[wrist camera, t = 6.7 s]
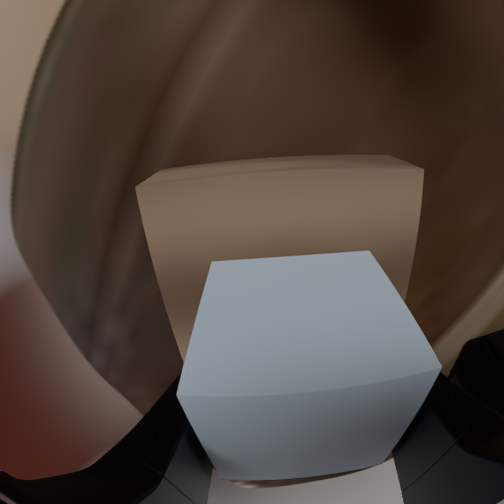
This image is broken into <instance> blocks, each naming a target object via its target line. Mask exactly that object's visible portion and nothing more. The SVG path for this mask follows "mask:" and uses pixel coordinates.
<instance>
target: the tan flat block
mask: <svg viewBox="0 0 504 504" xmlns="http://www.w3.org/2000/svg"><path fill="white" fill-rule="evenodd" d="M423 178H424V169H422V168H419V167H417V166H415V165H412V164H410V163H408V162H405V161H403V160H400V159H398V158H395V157H393V156H390V155H314V156H290V157H273V158H259V159H246V160H235V161H225V162H216V163H207V164H199V165H191V166H183V167H176V168H169V169H163V170H160V171H159V172H157V173H156V174H154V175H153V176H151V177H150V178H148V179H147V180H145V181H144V182H142V183H141V184H139V185H138V186H136V187H135V188H136V193H137V198H138V203H139V208H140V212H141V217H142V221H143V226H144V230H145V234H146V238H147V242H148V246H149V250H150V254H151V258H152V262H153V266H154V269H155V273H156V277H157V280H158V284H159V287H160V291H161V294H162V298H163V301H164V304H165V307H166V311H167V314H168V317H169V320H170V323H171V326H172V329H173V332H174V335H175V338H176V341H177V344H178V347H179V350H180V353H181V356H182V359H183V361H184V362H185V358H186V354H187V350H188V346H189V342H190V339H191V335H192V331H193V327H194V323H195V320H196V316H197V312H198V309H199V305H200V301H201V298H202V294H203V291H204V287H205V283H206V280H207V276H208V273H209V269H210V266H211V263H212V261H228V260H242V259H257V258H272V257H286V256H300V255H314V254H328V253H342V252H355V251H370V252H371V254H372V255H373V256H374V258H375V259H376V261H377V262H378V264H379V265H380V267H381V268H382V269H383V271H384V272H385V274H386V275H387V277H388V278H389V280H390V281H391V283H392V284H393V286H394V287H395V289H396V290H397V292H398V294H399V295H400V297H401V298H402V300H403V301H404V302H405V298H406V293H407V289H408V284H409V280H410V275H411V270H412V264H413V259H414V253H415V247H416V241H417V234H418V227H419V220H420V211H421V202H422V191H423Z"/></svg>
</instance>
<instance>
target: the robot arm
mask: <svg viewBox="0 0 504 504" xmlns="http://www.w3.org/2000/svg"><path fill="white" fill-rule="evenodd" d="M181 374H182V372H181V373H180V375H179V376H178V377H177V378H176V379H175V380H174V382H173V383H172V384H171V385H170V386H169V388H168V389H167V390H166V391H165V392H164V393H163V395H162V396H161V397H160V398H159V399H158V401H157V402H156V403H155V404H154V405H153V406H152V408H151V409H150V410H149V411H150V412H147V413H146V414H145V416H144V417H143V418H142V419H141V420H140V421H139V422H138V423H137V425H136V426H135V427H134V428H133V429H132V430H131V431H130V432H129V433H128V434H127V435H126V436H125V437H124V438H122V439H121V440H120V441H119V442H118V443H117V444H116V445H115V446H114V447H112V448H111V449H110V450H109V451H108V452H107V453H106V454H104V455H103V456H102V457H101V458H100V459H99V460H98V461H96V462H95V463H94V464H92V465H91V466H89V467H87V468H85V469H83V470H80V471H76V472H71V473H67V474H62V475H57V476H51V477H46V478H40V479H32V480H22V479H18V478H15V477H13V476H12V475H10V474H9V473H7V472H5V471H3V470H1V471H0V493H2V494H3V495H4V496H6V497H7V498H9V499H10V500H12V501H13V502H15V503H16V504H207V500H208V494H209V488H210V482H211V476H212V469H213V463H212V462H211V460H210V458H209V456H208V455H207V453H206V451H205V449H204V448H203V446H202V444H201V442H200V440H199V439H198V437H197V435H196V433H195V431H194V429H193V427H192V426H191V424H190V422H189V420H188V418H187V416H186V414H185V412H184V410H183V408H182V406H181V404H180V402H179V400H178V398H177V395H176V394H177V390H178V386H179V382H180V378H181ZM392 454H393V458H394V462H395V466H396V470H397V474H398V478H399V482H400V487H401V491H402V497H403V502H404V504H504V329H503V330H501V331H498V332H495V333H492V334H489V335H486V336H483V337H479V338H476V339H473V340H470V341H469V342H468V343H467V344H466V345H465V347H464V349H463V351H462V353H461V355H460V357H459V359H458V361H457V363H456V365H455V367H454V369H453V371H452V373H451V374H450V376H449V378H448V377H446V376H445V375H444V374H443V373H441V372H439V374H438V376H437V378H436V380H435V382H434V384H433V386H432V388H431V389H430V391H429V393H428V395H427V397H426V398H425V400H424V402H423V404H422V405H421V407H420V409H419V410H418V412H417V414H416V415H415V417H414V418H413V420H412V422H411V423H410V425H409V426H408V428H407V429H406V431H405V432H404V434H403V435H402V437H401V438H400V440H399V441H398V442H397V444H396V445H395V447H394V448H393V449H392ZM0 504H11V503H9V502H7V501H6V500H4V499H2V498H1V497H0Z"/></svg>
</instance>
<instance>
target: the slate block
mask: <svg viewBox="0 0 504 504" xmlns="http://www.w3.org/2000/svg"><path fill="white" fill-rule="evenodd" d="M441 368H442V366H441V364H440V362H439V361H438V359H437V357H436V355H435V353H434V352H433V350H432V348H431V346H430V344H429V343H428V341H427V339H426V337H425V336H424V334H423V332H422V331H421V329H420V327H419V326H418V324H417V322H416V321H415V319H414V317H413V316H412V314H411V312H410V311H409V309H408V308H407V306H406V304H405V303H404V301H403V300H402V298H401V297H400V295H399V294H398V292H397V290H396V289H395V287H394V286H393V284H392V283H391V281H390V280H389V278H388V277H387V275H386V274H385V272H384V271H383V269H382V268H381V267H380V265H379V264H378V262H377V261H376V259H375V258H374V256H373V255H372V254H371V252H370V251H355V252H342V253H328V254H314V255H300V256H286V257H272V258H257V259H242V260H228V261H212V263H211V266H210V269H209V273H208V276H207V280H206V283H205V287H204V291H203V294H202V298H201V301H200V305H199V309H198V312H197V316H196V320H195V323H194V327H193V331H192V335H191V339H190V342H189V346H188V350H187V354H186V358H185V362H184V366H183V370H182V374H181V378H180V382H179V386H178V390H177V394H176V395H177V398H178V400H179V402H180V404H181V406H182V408H183V410H184V412H185V414H186V416H187V418H188V420H189V422H190V424H191V426H192V427H193V429H194V431H195V433H196V435H197V437H198V439H199V440H200V442H201V444H202V446H203V448H204V449H205V451H206V453H207V455H208V456H209V458H210V460H211V462H212V463H213V465H214V467H215V468H216V470H217V472H218V473H219V475H220V476H221V478H222V479H223V480H273V479H290V478H302V477H311V476H320V475H327V474H334V473H340V472H346V471H351V470H357V469H362V468H366V467H371V466H375V465H379V464H382V463H383V462H384V460H385V459H386V458H387V456H388V455H389V454H390V452H391V451H392V449H393V448H394V447H395V445H396V444H397V442H398V441H399V440H400V438H401V437H402V435H403V434H404V432H405V431H406V429H407V428H408V426H409V425H410V423H411V422H412V420H413V418H414V417H415V415H416V414H417V412H418V410H419V409H420V407H421V405H422V404H423V402H424V400H425V398H426V397H427V395H428V393H429V391H430V389H431V388H432V386H433V384H434V382H435V380H436V378H437V376H438V374H439V372H440V370H441Z"/></svg>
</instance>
